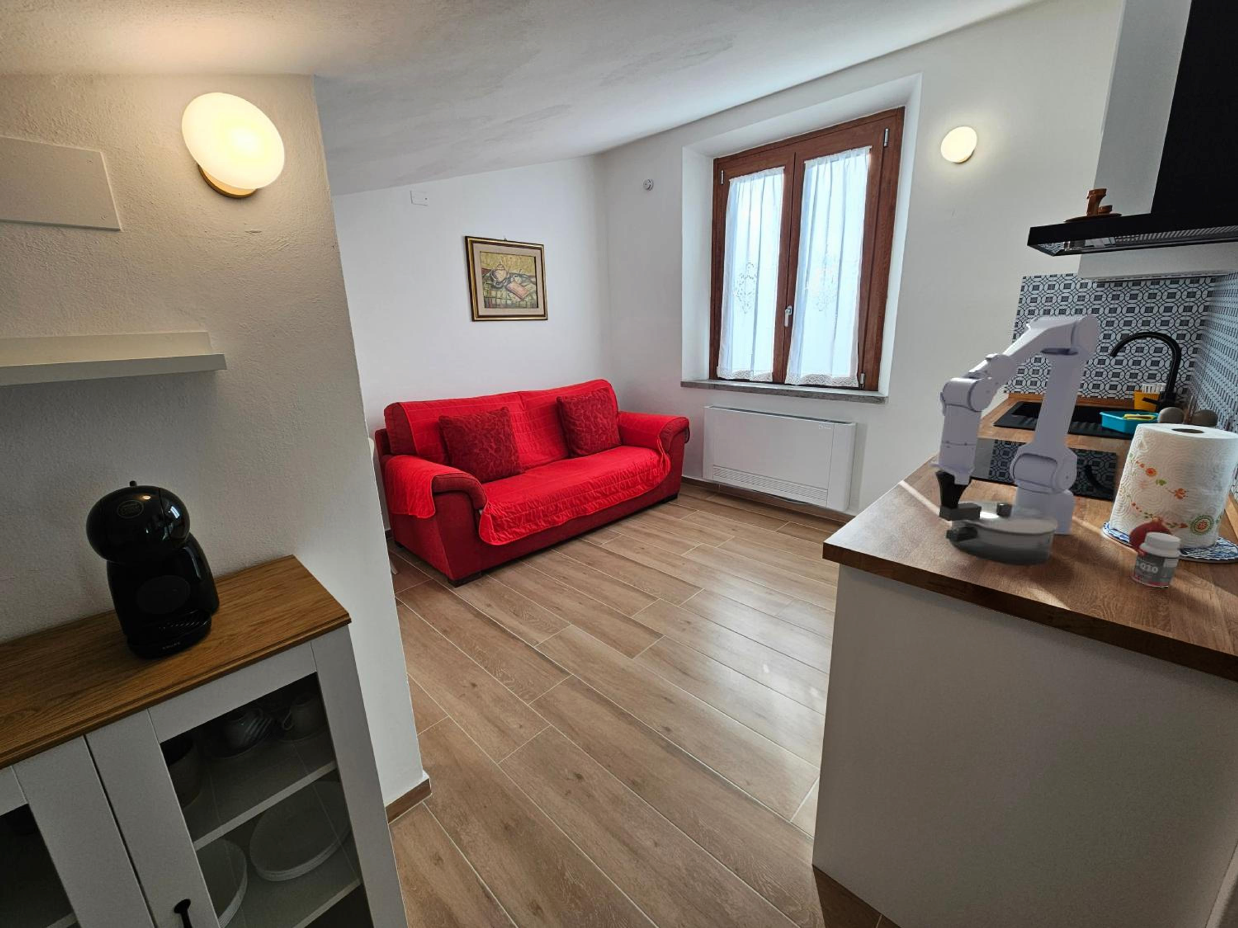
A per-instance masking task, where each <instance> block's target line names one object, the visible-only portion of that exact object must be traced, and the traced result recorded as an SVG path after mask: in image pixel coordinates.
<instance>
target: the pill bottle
mask: <svg viewBox="0 0 1238 928" xmlns="http://www.w3.org/2000/svg"><path fill="white" fill-rule="evenodd" d="M1172 535H1173V534H1172ZM1172 535H1169V534H1164V533H1156V532H1150V533H1147V535H1146V538H1145V543H1142V544H1141V545H1140V547H1139V551H1138V553H1137V554H1136V560H1135V563H1134V566H1133V570H1132V573H1131V579H1133V580H1134V581H1135V582H1137V583H1138V582H1139V584H1141V583H1142V585H1143V584H1145V585H1144V586H1146V585H1148V586H1147V587H1150V586H1155V587H1166V586H1170V585H1172V582H1173V580H1174V576H1175V572H1176V569H1177V565H1178V562H1179V559H1180V556H1181V552H1180V550H1179V548H1180V545H1181V541H1182V540H1181V538H1179V537H1177V536H1175V535H1173V536H1172ZM1155 587H1154V588H1155ZM1170 587H1171V586H1170Z"/></svg>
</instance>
